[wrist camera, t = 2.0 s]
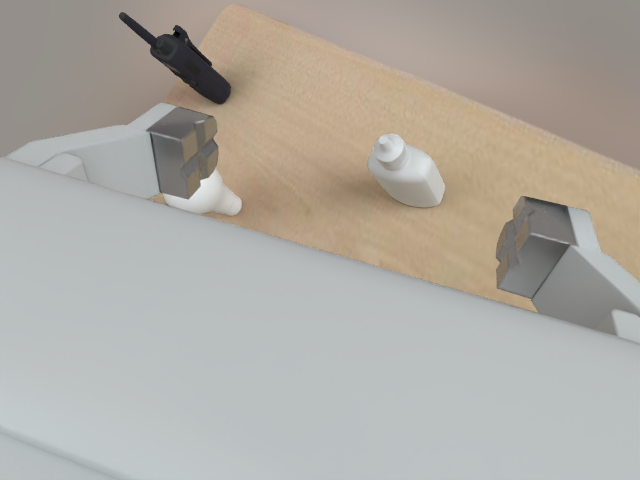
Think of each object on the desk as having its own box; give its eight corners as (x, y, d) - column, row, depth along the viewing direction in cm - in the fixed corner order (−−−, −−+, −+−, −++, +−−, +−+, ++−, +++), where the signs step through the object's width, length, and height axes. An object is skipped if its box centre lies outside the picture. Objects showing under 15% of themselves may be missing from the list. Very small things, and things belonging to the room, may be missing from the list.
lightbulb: (247, 238, 50) (181, 212, 40) (209, 224, 53) (139, 197, 43) (266, 189, 50) (205, 152, 41) (227, 178, 53) (161, 141, 43)
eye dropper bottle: (413, 157, 44) (380, 97, 33) (453, 193, 41) (431, 140, 31) (382, 188, 44) (340, 138, 34) (419, 224, 42) (386, 184, 31)
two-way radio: (198, 95, 58) (104, 21, 45) (215, 67, 58) (126, -16, 45) (225, 109, 56) (133, 35, 42) (242, 80, 56) (156, -4, 42)
